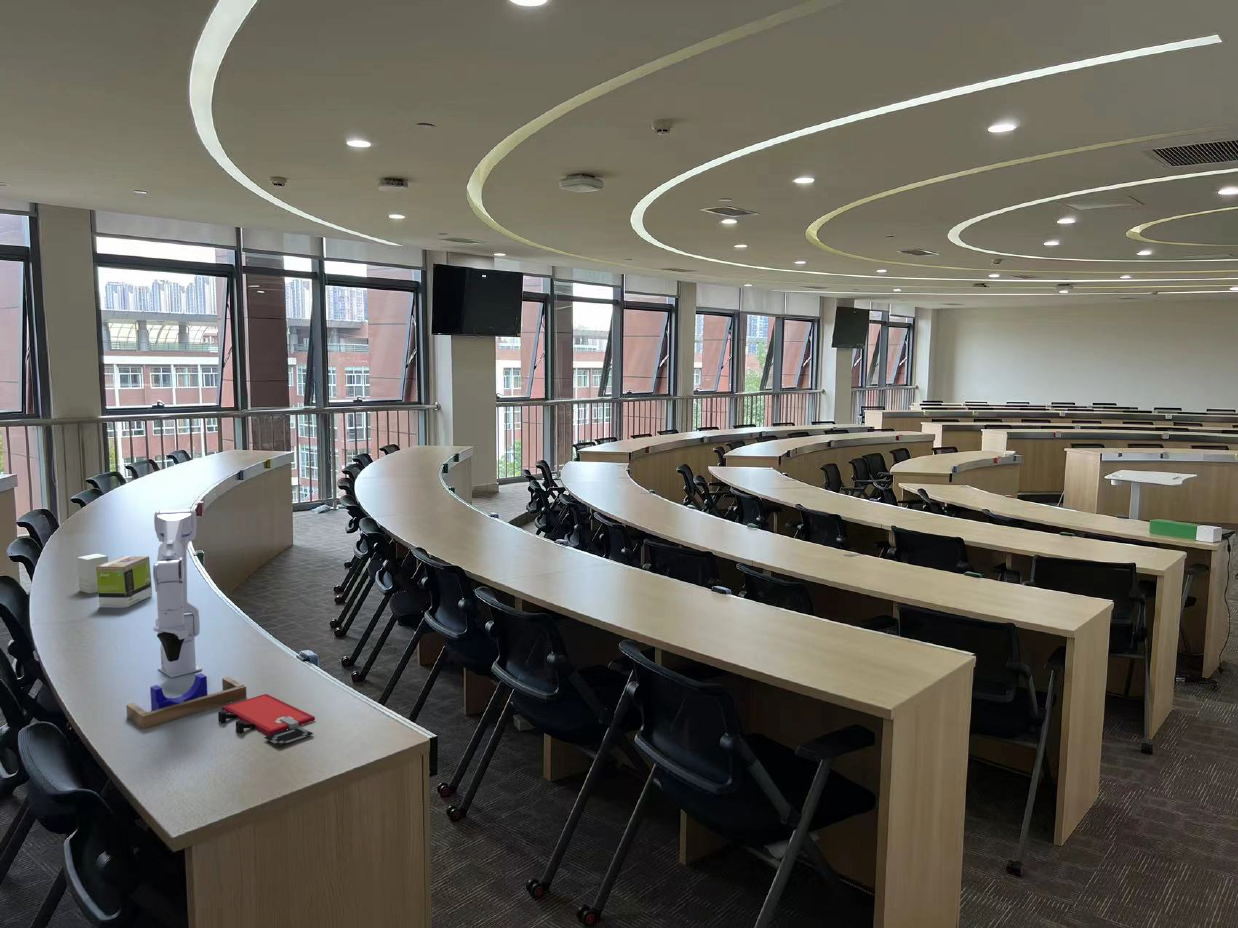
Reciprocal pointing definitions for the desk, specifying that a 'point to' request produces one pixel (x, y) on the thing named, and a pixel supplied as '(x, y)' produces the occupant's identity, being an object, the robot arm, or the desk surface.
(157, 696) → the blue curved bracket
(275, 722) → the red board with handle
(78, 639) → the desk surface
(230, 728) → the desk surface
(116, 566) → the tea box
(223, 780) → the desk surface
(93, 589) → the supplement box
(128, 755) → the desk surface
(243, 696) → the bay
